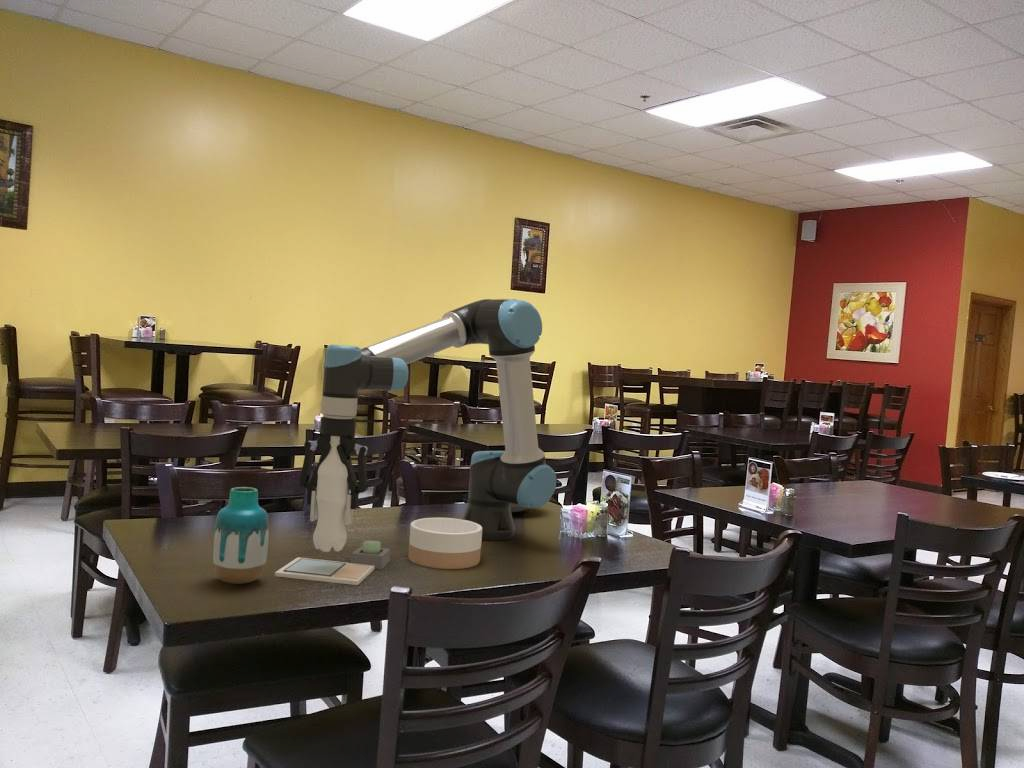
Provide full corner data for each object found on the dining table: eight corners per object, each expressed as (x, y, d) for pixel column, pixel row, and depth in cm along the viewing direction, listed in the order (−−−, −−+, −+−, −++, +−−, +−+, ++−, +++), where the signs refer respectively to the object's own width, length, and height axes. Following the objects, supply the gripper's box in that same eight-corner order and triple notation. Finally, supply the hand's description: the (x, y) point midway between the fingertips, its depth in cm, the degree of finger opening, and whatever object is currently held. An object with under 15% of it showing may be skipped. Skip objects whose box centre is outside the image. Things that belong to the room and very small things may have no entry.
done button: (381, 556, 192) (382, 541, 192) (377, 560, 188) (378, 545, 188) (364, 554, 193) (365, 539, 192) (359, 558, 189) (360, 543, 188)
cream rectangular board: (374, 569, 187) (375, 564, 187) (357, 585, 174) (357, 580, 174) (297, 560, 189) (297, 556, 189) (274, 576, 176) (275, 571, 176)
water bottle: (350, 547, 184) (357, 434, 183) (340, 554, 177) (348, 438, 176) (318, 543, 185) (326, 431, 184) (307, 551, 178) (315, 435, 177)
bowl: (451, 574, 188) (454, 537, 188) (393, 558, 197) (395, 523, 197) (493, 560, 203) (496, 526, 202) (437, 546, 212) (439, 514, 211)
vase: (218, 573, 175) (224, 483, 174) (270, 576, 176) (275, 486, 175) (204, 588, 164) (210, 492, 163) (259, 591, 165) (265, 495, 164)
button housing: (389, 561, 194) (390, 549, 193) (381, 569, 187) (382, 556, 186) (360, 558, 194) (360, 546, 194) (351, 566, 187) (351, 553, 187)
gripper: (388, 419, 182) (380, 523, 183) (300, 411, 184) (293, 513, 185) (379, 422, 175) (371, 530, 176) (287, 413, 177) (279, 520, 178)
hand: (331, 521), depth 181 cm, fingers closed on water bottle, 7 cm apart
